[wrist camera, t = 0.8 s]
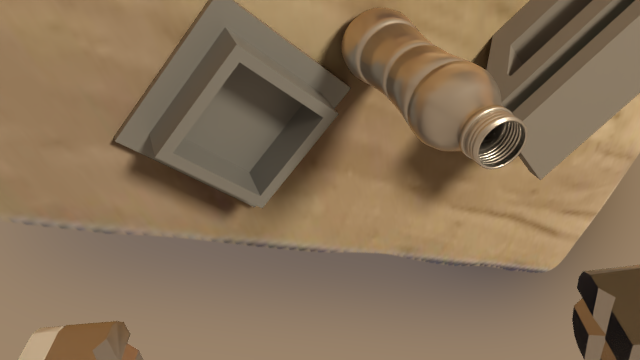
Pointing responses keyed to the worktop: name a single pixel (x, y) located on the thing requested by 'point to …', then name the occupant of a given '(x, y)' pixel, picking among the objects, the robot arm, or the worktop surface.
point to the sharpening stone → (566, 72)
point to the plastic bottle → (433, 89)
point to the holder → (234, 105)
